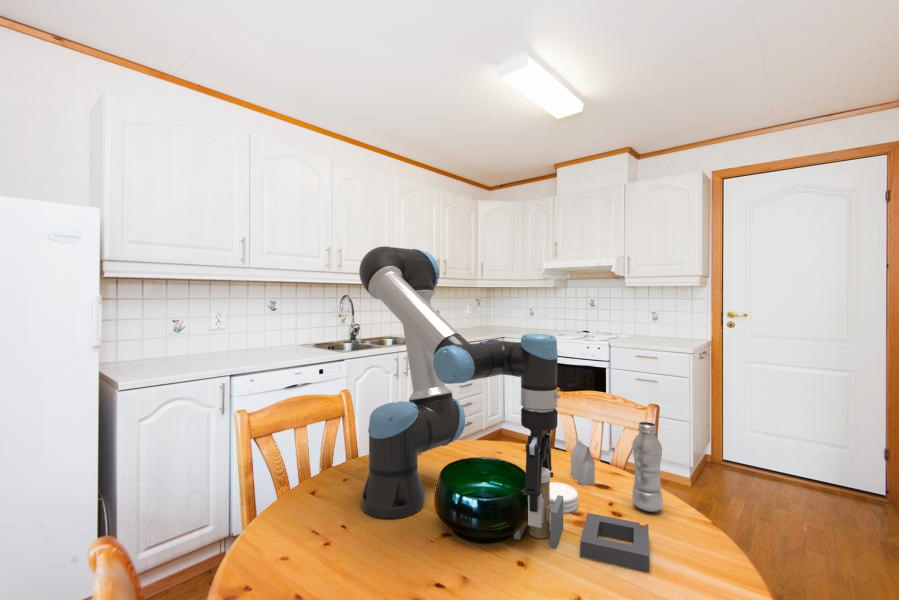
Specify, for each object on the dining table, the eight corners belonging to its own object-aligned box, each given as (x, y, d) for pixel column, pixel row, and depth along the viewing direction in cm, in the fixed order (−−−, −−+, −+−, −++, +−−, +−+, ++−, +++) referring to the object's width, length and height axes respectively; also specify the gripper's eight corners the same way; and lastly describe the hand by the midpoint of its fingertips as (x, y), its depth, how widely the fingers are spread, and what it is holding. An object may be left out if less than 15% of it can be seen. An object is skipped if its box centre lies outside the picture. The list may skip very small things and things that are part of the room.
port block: (580, 556, 82) (580, 539, 82) (587, 526, 93) (587, 510, 93) (649, 572, 78) (649, 554, 78) (648, 539, 89) (648, 522, 89)
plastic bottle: (650, 518, 97) (650, 429, 97) (625, 505, 103) (625, 422, 103) (669, 512, 100) (669, 425, 100) (644, 500, 106) (644, 418, 106)
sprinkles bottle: (554, 535, 90) (554, 470, 90) (539, 542, 88) (539, 475, 88) (539, 525, 94) (538, 464, 94) (523, 531, 91) (523, 468, 91)
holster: (513, 538, 89) (513, 504, 89) (523, 520, 96) (523, 488, 96) (556, 548, 85) (556, 513, 85) (563, 528, 93) (563, 496, 93)
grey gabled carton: (581, 485, 114) (581, 447, 114) (570, 475, 121) (571, 439, 121) (594, 484, 115) (594, 447, 115) (583, 474, 121) (583, 439, 121)
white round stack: (559, 492, 111) (559, 478, 111) (587, 509, 102) (587, 494, 102) (527, 500, 106) (527, 485, 106) (553, 518, 97) (553, 503, 97)
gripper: (547, 422, 80) (547, 545, 80) (565, 399, 98) (565, 498, 98) (508, 417, 83) (508, 536, 83) (532, 396, 102) (532, 493, 102)
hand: (539, 516), depth 91 cm, fingers open, 8 cm apart
